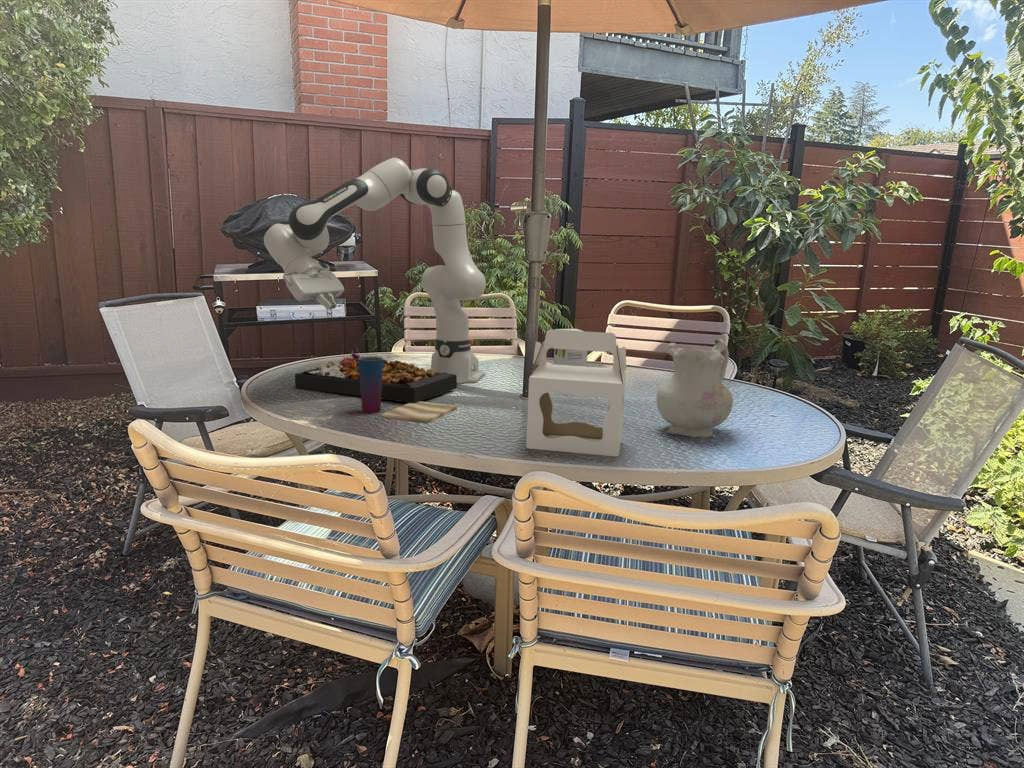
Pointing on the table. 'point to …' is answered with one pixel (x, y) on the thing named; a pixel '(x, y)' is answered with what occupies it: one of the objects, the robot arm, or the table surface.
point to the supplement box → (570, 355)
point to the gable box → (577, 384)
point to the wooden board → (420, 411)
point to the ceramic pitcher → (696, 391)
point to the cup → (371, 383)
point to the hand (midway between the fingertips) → (332, 307)
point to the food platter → (396, 380)
